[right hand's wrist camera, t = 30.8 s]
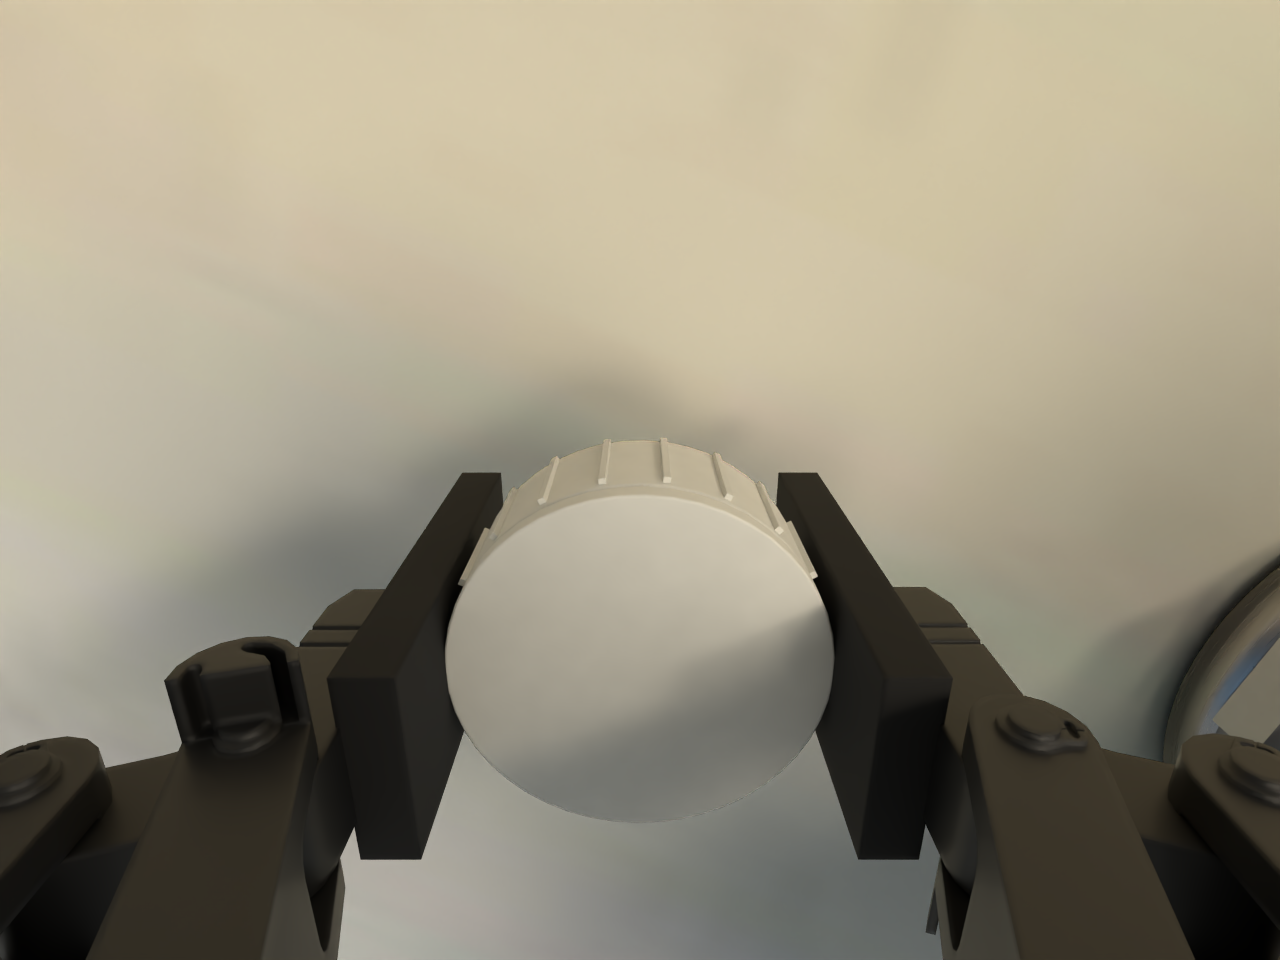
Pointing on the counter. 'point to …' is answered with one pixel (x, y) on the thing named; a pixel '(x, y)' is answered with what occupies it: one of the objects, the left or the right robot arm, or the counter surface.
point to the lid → (639, 635)
